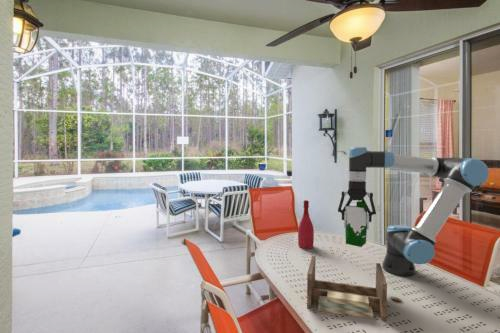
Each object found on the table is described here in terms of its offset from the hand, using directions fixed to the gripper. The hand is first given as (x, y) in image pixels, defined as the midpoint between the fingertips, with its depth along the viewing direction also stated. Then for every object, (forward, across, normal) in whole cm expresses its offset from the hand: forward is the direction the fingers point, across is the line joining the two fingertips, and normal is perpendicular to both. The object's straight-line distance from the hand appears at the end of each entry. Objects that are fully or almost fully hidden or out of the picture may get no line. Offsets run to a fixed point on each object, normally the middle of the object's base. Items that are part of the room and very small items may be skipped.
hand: (356, 227), depth 132 cm
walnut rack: (+26, -5, -21) cm, 34 cm away
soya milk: (+8, 0, 0) cm, 8 cm away
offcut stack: (+26, -5, -27) cm, 38 cm away
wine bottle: (+26, -28, +40) cm, 55 cm away
